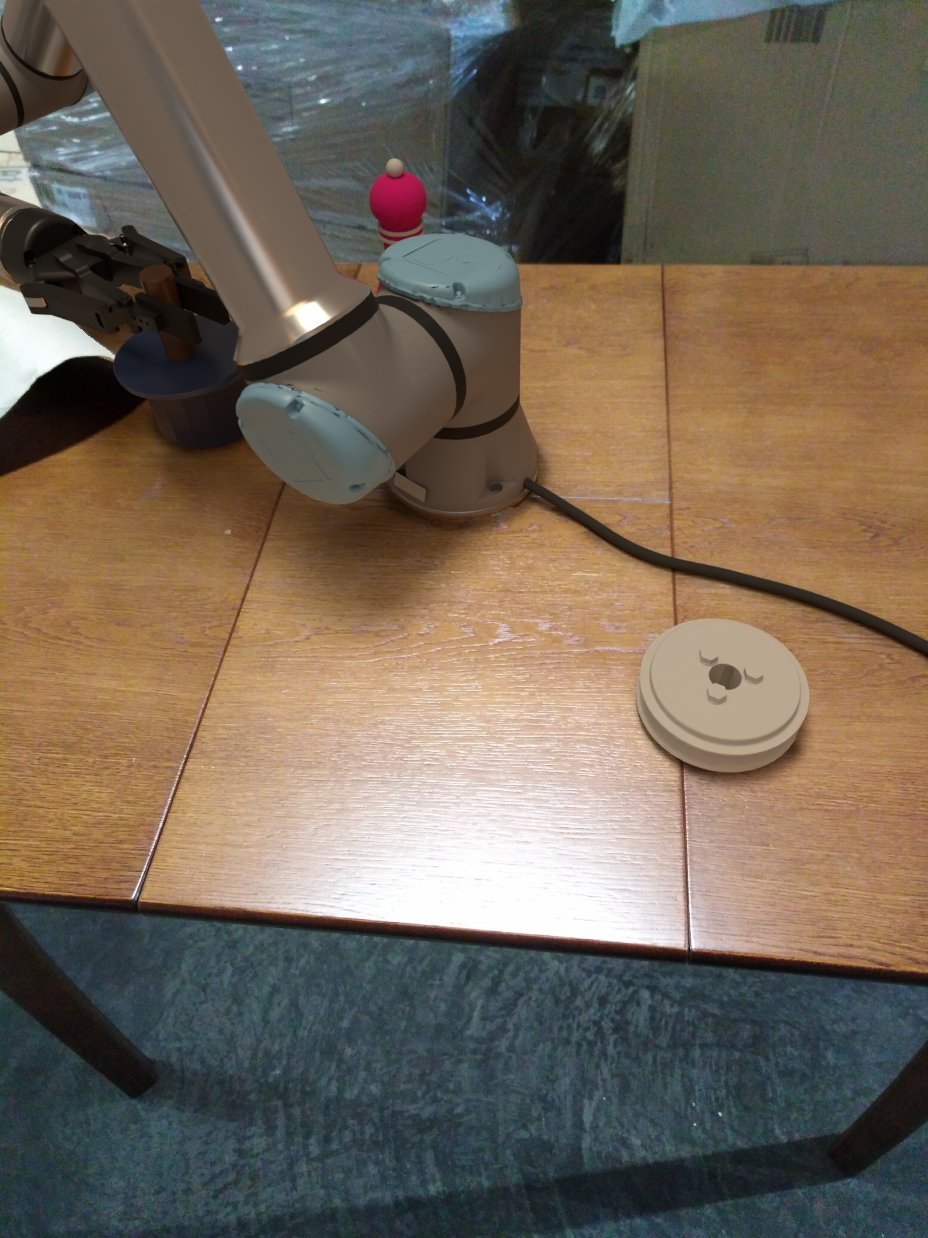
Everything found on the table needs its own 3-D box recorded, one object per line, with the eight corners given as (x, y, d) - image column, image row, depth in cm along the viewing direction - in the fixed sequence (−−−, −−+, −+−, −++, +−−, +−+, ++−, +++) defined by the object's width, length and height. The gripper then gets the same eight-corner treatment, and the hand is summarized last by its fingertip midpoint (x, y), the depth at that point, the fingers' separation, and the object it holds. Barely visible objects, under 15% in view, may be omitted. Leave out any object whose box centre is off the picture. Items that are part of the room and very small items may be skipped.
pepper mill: (371, 344, 104) (345, 170, 89) (396, 311, 109) (377, 139, 93) (427, 356, 103) (411, 179, 87) (451, 321, 107) (440, 147, 91)
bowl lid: (273, 332, 86) (251, 242, 79) (219, 414, 79) (190, 321, 72) (155, 319, 89) (124, 229, 82) (92, 396, 81) (51, 305, 74)
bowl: (280, 389, 100) (268, 338, 95) (239, 455, 93) (223, 404, 88) (188, 377, 102) (171, 326, 97) (140, 441, 95) (120, 390, 90)
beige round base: (670, 623, 77) (679, 585, 73) (818, 681, 72) (835, 644, 68) (608, 735, 70) (614, 699, 66) (767, 806, 65) (783, 772, 62)
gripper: (110, 248, 92) (280, 313, 84) (-17, 323, 85) (154, 404, 76) (83, 174, 87) (262, 236, 78) (-57, 248, 79) (125, 326, 70)
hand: (209, 319), depth 77 cm, fingers closed on bowl lid, 3 cm apart
